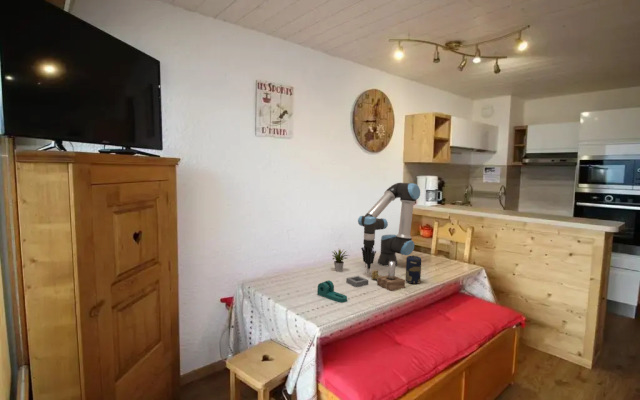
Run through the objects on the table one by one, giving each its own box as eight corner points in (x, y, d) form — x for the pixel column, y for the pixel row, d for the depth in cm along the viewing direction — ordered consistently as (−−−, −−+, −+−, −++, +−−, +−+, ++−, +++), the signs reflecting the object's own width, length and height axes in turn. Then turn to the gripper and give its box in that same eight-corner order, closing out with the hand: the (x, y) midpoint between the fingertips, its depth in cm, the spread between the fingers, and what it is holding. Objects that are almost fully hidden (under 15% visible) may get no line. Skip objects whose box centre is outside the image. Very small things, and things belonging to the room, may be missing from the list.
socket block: (377, 284, 210) (377, 277, 210) (390, 282, 217) (391, 274, 216) (390, 291, 200) (391, 283, 200) (404, 287, 206) (405, 280, 206)
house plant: (337, 275, 228) (338, 252, 226) (324, 270, 238) (325, 248, 237) (351, 271, 237) (352, 249, 236) (338, 266, 247) (339, 245, 246)
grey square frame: (346, 282, 213) (346, 278, 213) (358, 280, 218) (358, 275, 218) (355, 287, 204) (356, 282, 204) (368, 284, 210) (368, 280, 210)
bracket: (317, 295, 190) (317, 281, 190) (324, 292, 195) (325, 279, 195) (341, 304, 178) (342, 289, 178) (349, 300, 183) (349, 286, 183)
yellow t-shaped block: (371, 279, 220) (371, 270, 220) (376, 278, 223) (376, 269, 222) (381, 283, 212) (381, 274, 212) (386, 282, 215) (386, 273, 214)
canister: (420, 281, 221) (422, 254, 219) (419, 285, 212) (421, 258, 210) (405, 279, 224) (407, 253, 222) (404, 283, 215) (406, 256, 213)
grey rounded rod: (386, 285, 209) (387, 261, 208) (390, 284, 211) (392, 260, 210) (390, 287, 206) (392, 262, 204) (395, 286, 208) (396, 262, 206)
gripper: (358, 237, 228) (357, 271, 230) (371, 241, 217) (369, 276, 219) (367, 237, 232) (365, 269, 234) (379, 240, 221) (378, 274, 223)
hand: (367, 272), depth 227 cm, fingers closed
